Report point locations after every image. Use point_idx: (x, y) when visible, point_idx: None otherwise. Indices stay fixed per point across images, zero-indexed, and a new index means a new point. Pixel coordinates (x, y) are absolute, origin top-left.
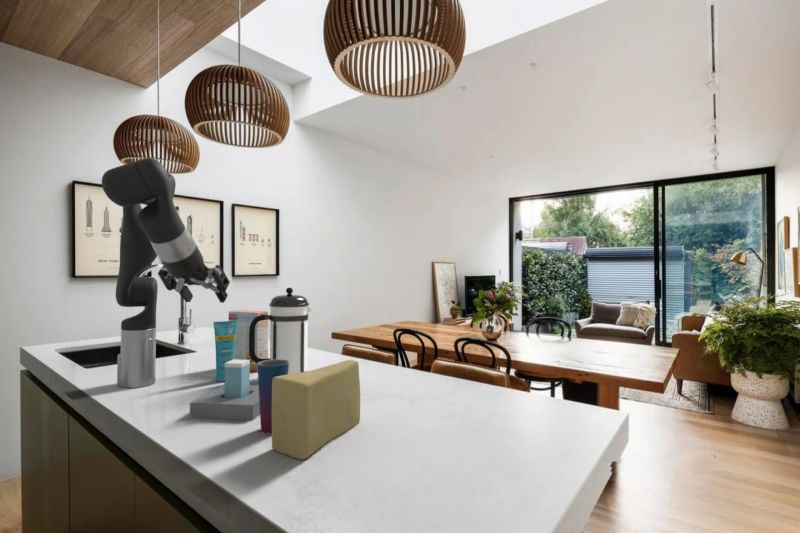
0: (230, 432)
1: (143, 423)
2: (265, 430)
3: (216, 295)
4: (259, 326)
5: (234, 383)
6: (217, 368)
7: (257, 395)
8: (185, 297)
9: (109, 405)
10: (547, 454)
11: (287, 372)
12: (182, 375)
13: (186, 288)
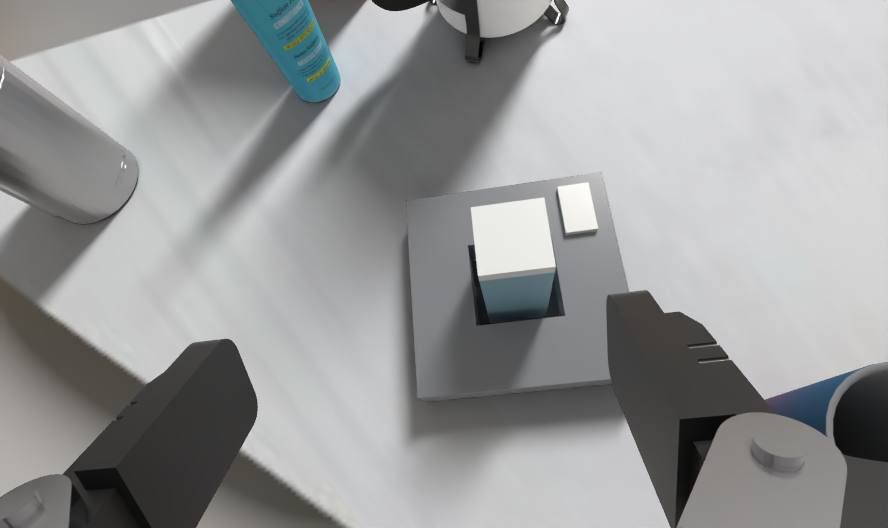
0: (639, 497)
1: (327, 481)
2: None
3: (653, 482)
4: None
5: (523, 294)
6: (289, 74)
7: (592, 276)
8: (217, 478)
9: (134, 365)
10: None
11: None
12: (173, 83)
13: (147, 473)
